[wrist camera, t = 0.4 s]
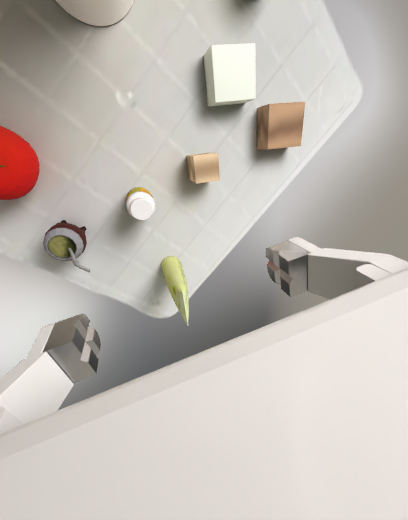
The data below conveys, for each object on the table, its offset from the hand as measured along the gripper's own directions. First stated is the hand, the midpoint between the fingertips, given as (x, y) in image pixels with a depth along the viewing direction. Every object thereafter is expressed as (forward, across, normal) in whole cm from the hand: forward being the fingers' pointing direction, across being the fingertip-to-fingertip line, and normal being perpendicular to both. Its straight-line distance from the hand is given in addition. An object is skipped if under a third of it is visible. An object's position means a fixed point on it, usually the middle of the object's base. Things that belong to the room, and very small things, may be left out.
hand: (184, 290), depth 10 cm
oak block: (+44, -13, +1) cm, 46 cm away
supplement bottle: (+45, +2, +4) cm, 45 cm away
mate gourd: (+45, +18, +7) cm, 48 cm away
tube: (+44, 0, +22) cm, 49 cm away
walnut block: (+45, -31, -2) cm, 55 cm away
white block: (+45, -22, -13) cm, 51 cm away
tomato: (+45, +21, -8) cm, 50 cm away
